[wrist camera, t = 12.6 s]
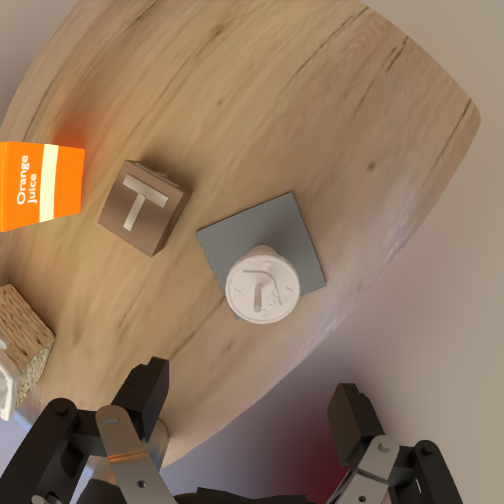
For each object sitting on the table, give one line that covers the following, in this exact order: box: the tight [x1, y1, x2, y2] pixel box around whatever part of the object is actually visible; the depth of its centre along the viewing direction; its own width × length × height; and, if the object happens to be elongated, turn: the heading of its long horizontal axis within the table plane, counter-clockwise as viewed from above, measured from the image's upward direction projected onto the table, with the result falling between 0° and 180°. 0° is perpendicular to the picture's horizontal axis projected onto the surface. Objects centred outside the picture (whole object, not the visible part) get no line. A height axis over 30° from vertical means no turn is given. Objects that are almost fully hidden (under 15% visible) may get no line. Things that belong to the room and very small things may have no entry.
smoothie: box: [225, 245, 300, 324], centre depth 25 cm, size 6×6×14 cm
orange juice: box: [0, 142, 85, 232], centre depth 21 cm, size 8×9×20 cm
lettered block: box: [98, 160, 193, 257], centre depth 30 cm, size 8×8×4 cm
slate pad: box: [195, 192, 326, 320], centre depth 33 cm, size 12×12×1 cm
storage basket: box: [0, 284, 55, 420], centre depth 31 cm, size 24×16×15 cm
